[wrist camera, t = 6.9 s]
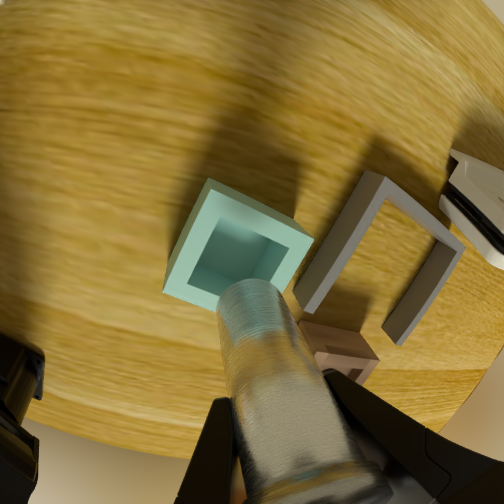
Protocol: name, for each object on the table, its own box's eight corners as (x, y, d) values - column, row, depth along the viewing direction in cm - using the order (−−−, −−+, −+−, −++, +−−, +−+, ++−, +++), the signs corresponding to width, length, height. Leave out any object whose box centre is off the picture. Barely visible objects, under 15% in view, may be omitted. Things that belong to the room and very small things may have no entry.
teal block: (248, 294, 21) (260, 327, 18) (167, 261, 19) (162, 292, 16) (292, 218, 20) (314, 239, 16) (208, 176, 18) (211, 188, 14)
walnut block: (325, 381, 26) (340, 411, 23) (268, 373, 25) (278, 408, 21) (358, 331, 25) (380, 360, 21) (299, 318, 23) (316, 351, 19)
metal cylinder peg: (264, 348, 13) (329, 537, 5) (198, 325, 12) (219, 547, 4) (302, 290, 13) (420, 481, 4) (233, 261, 12) (308, 499, 3)
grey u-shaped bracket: (386, 329, 25) (400, 346, 23) (292, 291, 22) (303, 310, 19) (447, 236, 22) (465, 247, 20) (365, 169, 19) (385, 176, 17)
